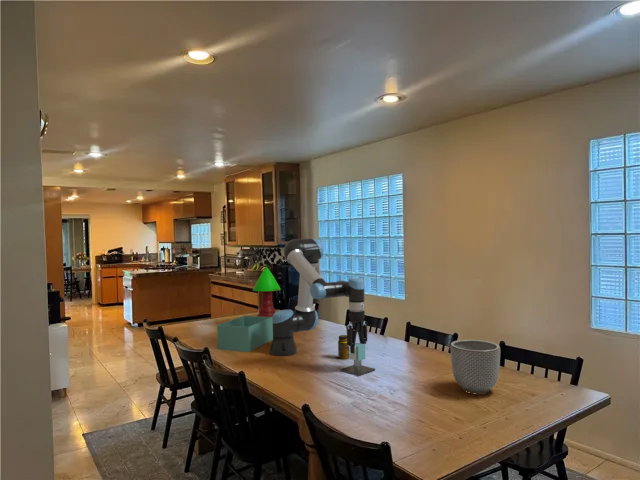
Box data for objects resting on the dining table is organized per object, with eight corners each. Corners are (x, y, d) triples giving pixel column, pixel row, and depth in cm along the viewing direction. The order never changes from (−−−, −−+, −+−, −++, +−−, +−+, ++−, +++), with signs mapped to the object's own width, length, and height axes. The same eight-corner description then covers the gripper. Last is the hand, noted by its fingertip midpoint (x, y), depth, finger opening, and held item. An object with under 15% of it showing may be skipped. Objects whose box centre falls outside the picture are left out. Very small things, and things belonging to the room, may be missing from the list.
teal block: (350, 359, 215) (349, 345, 215) (357, 356, 219) (356, 343, 219) (358, 361, 211) (358, 346, 211) (365, 358, 215) (365, 344, 215)
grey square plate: (340, 370, 215) (340, 357, 215) (356, 365, 224) (356, 353, 224) (359, 376, 207) (359, 362, 207) (375, 370, 215) (375, 357, 215)
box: (217, 349, 260) (217, 325, 260) (244, 337, 290) (243, 315, 290) (249, 352, 254) (248, 327, 253) (272, 339, 284) (272, 317, 284)
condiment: (352, 358, 237) (352, 336, 236) (340, 361, 232) (339, 338, 232) (344, 355, 243) (344, 333, 243) (332, 358, 238) (331, 335, 238)
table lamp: (257, 326, 325) (256, 265, 325) (284, 326, 322) (283, 265, 322) (249, 332, 306) (248, 267, 305) (277, 332, 303) (276, 266, 302)
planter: (495, 402, 172) (495, 353, 172) (445, 393, 182) (444, 347, 182) (504, 387, 189) (504, 342, 188) (457, 380, 199) (457, 337, 199)
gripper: (350, 313, 206) (351, 363, 206) (374, 308, 219) (375, 355, 219) (338, 312, 211) (339, 360, 211) (362, 307, 224) (363, 353, 224)
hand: (357, 358), depth 215 cm, fingers closed on teal block, 5 cm apart
